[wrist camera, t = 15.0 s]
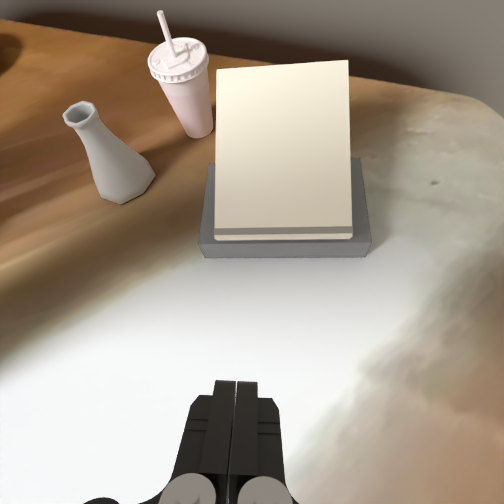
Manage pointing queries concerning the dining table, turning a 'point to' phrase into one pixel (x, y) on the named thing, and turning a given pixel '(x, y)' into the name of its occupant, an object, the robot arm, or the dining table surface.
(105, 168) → the flask
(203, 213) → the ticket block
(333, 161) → the panel
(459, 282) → the dining table surface
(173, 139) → the dining table surface
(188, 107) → the smoothie
